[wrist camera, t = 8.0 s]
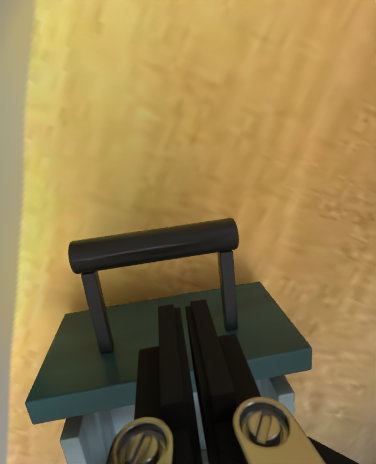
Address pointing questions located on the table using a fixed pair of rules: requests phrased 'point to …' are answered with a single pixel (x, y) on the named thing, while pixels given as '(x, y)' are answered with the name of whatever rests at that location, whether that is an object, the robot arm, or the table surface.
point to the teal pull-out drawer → (152, 337)
